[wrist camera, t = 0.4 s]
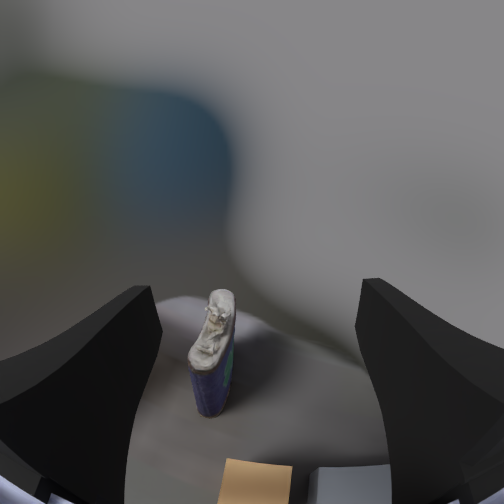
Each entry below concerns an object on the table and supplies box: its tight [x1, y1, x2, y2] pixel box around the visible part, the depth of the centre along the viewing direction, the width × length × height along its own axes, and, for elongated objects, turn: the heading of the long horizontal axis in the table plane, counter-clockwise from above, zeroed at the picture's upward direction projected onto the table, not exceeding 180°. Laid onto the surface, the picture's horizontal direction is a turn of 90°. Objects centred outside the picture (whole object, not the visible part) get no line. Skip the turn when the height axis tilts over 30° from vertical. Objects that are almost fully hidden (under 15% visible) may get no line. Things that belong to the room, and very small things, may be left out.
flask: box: [188, 289, 236, 419], centre depth 24 cm, size 9×3×11 cm, turn 173°
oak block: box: [218, 458, 292, 504], centre depth 16 cm, size 4×4×6 cm
